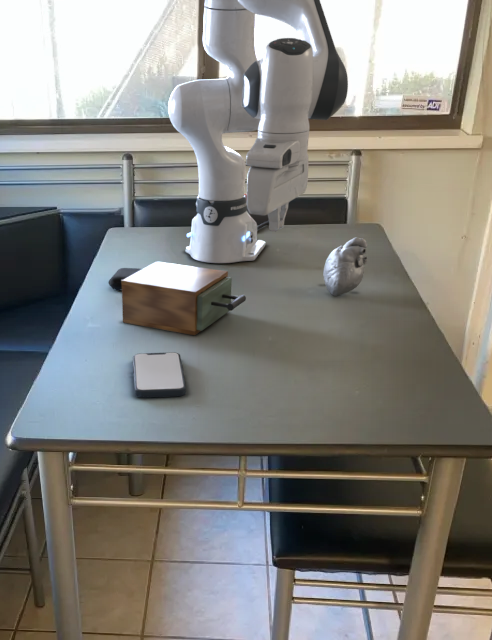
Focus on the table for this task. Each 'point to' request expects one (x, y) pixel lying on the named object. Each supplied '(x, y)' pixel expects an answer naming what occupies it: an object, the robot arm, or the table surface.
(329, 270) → the heart
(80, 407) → the table surface
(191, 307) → the cabinet
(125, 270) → the carrying case
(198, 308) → the drawer
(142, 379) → the smartphone
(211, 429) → the table surface
